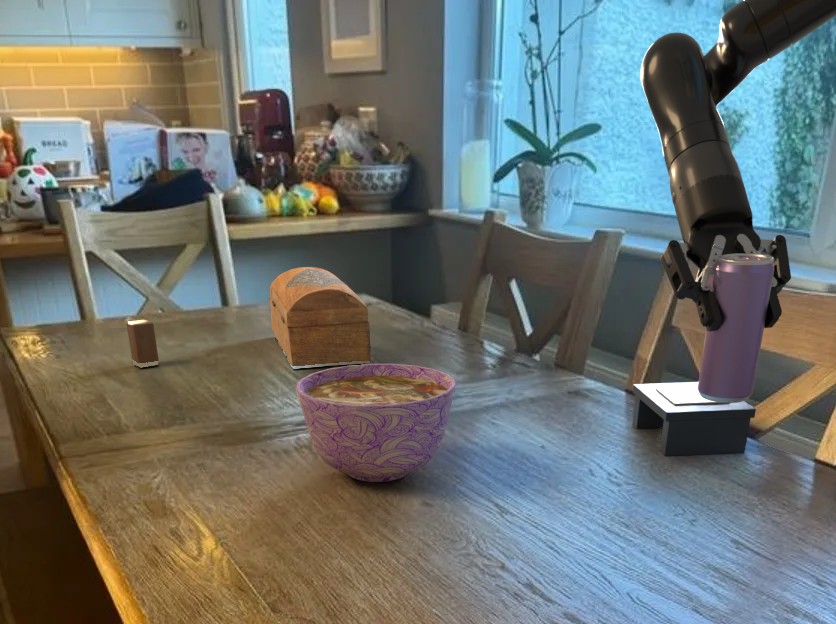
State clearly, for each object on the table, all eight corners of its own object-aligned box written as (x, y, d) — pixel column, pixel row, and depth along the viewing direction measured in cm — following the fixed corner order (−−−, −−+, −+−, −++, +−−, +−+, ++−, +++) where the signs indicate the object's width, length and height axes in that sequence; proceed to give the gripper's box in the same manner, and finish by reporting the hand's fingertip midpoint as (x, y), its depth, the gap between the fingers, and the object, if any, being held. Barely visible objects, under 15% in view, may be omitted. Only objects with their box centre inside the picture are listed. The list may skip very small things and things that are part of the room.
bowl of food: (300, 449, 126) (295, 366, 120) (442, 442, 127) (443, 360, 122) (302, 503, 108) (295, 409, 103) (466, 495, 110) (469, 401, 104)
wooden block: (139, 369, 168) (133, 325, 164) (132, 365, 171) (125, 321, 167) (160, 366, 170) (154, 322, 166) (152, 362, 173) (146, 319, 169)
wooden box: (376, 364, 167) (374, 286, 161) (288, 370, 165) (282, 291, 158) (349, 331, 193) (346, 263, 187) (271, 336, 190) (266, 267, 184)
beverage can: (744, 406, 99) (768, 263, 92) (690, 399, 102) (709, 259, 95) (757, 393, 104) (782, 255, 96) (705, 386, 107) (725, 251, 99)
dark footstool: (708, 421, 134) (714, 379, 131) (748, 452, 121) (756, 407, 118) (628, 424, 133) (633, 382, 130) (660, 456, 121) (666, 411, 118)
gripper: (661, 174, 98) (695, 308, 93) (784, 169, 99) (824, 301, 95) (636, 222, 105) (667, 348, 100) (752, 216, 107) (787, 341, 102)
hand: (743, 325), depth 98 cm, fingers closed on beverage can, 6 cm apart
